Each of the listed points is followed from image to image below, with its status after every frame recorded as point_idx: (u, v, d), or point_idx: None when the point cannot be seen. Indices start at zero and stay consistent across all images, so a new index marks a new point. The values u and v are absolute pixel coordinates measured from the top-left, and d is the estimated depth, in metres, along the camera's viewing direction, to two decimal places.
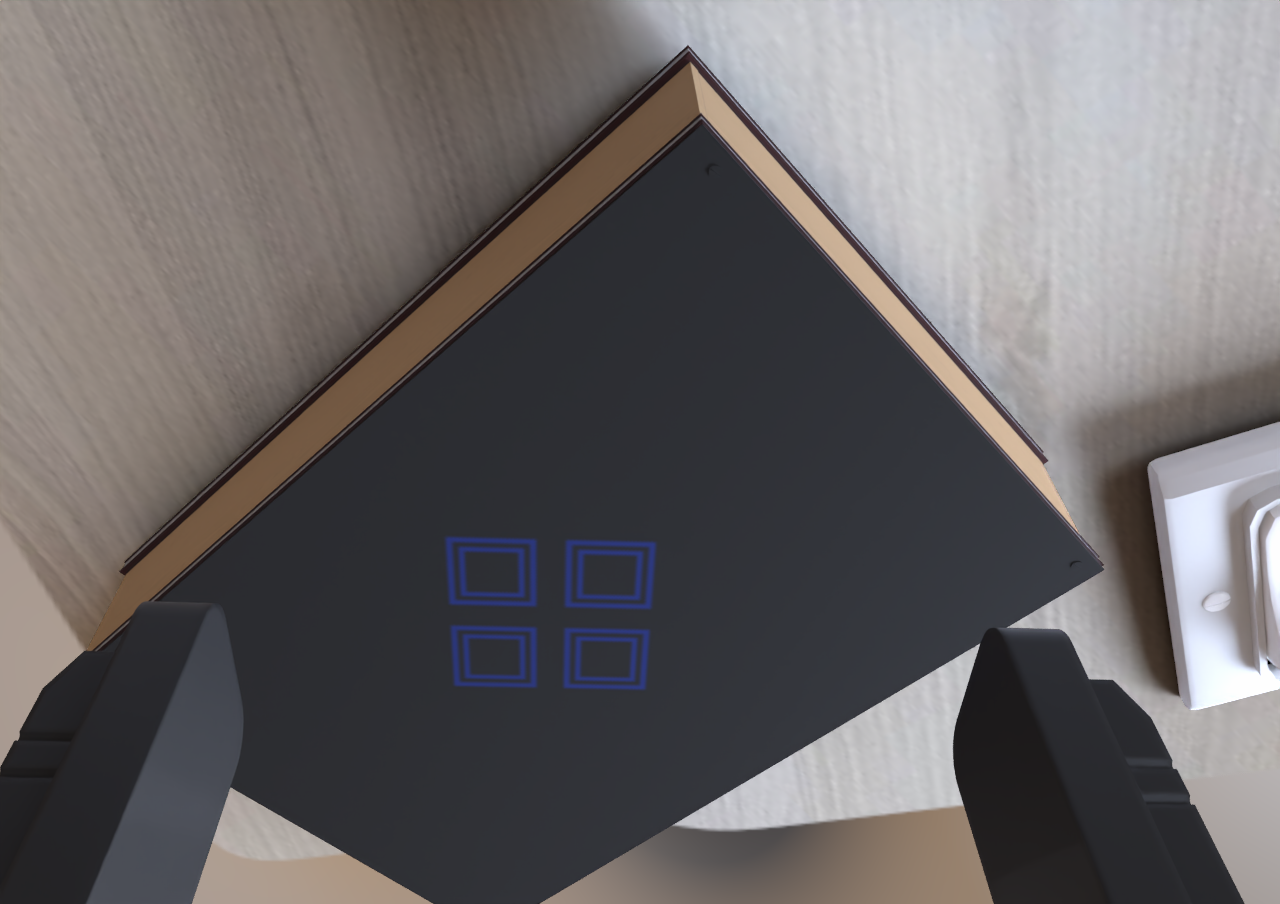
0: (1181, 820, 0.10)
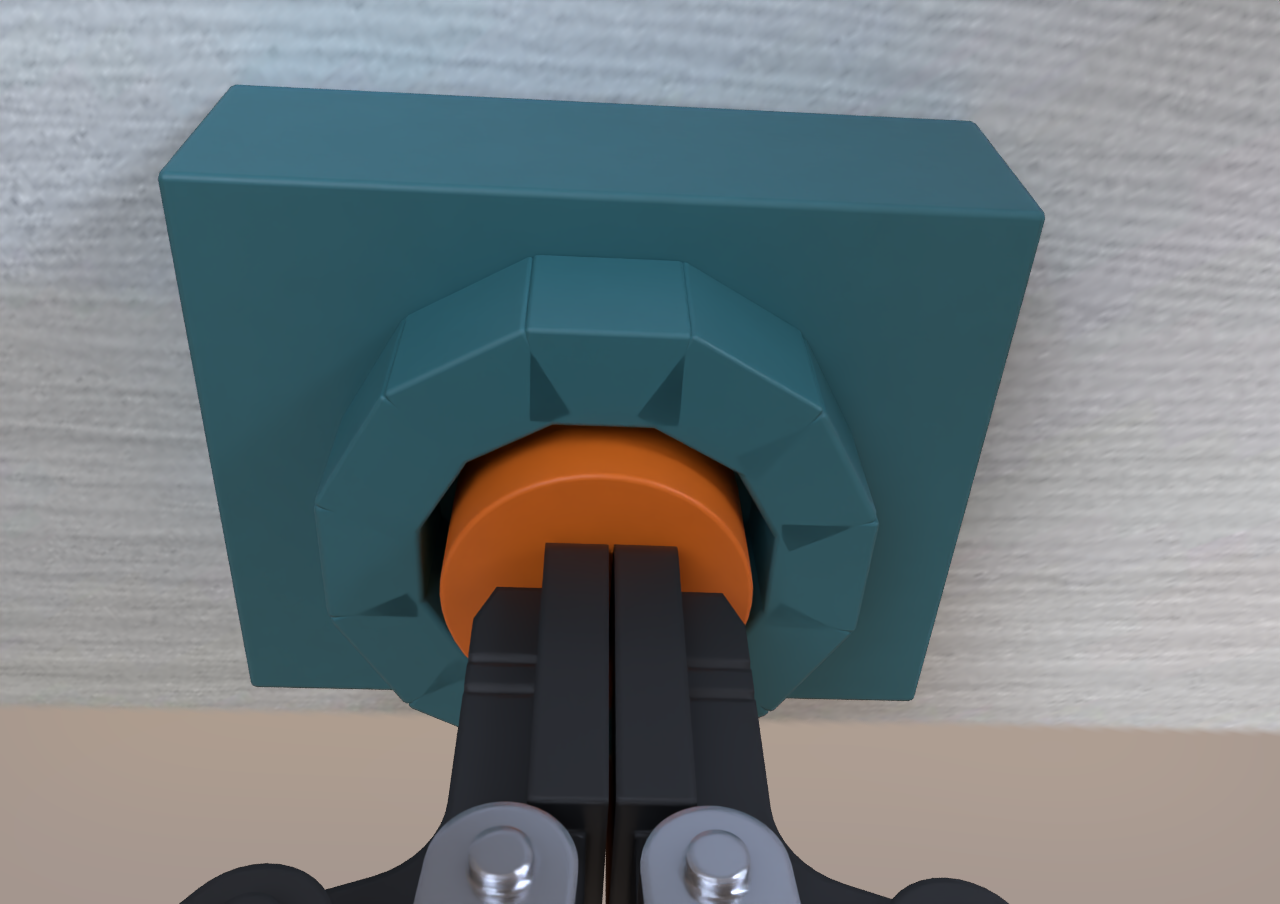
0: (737, 712, 0.11)
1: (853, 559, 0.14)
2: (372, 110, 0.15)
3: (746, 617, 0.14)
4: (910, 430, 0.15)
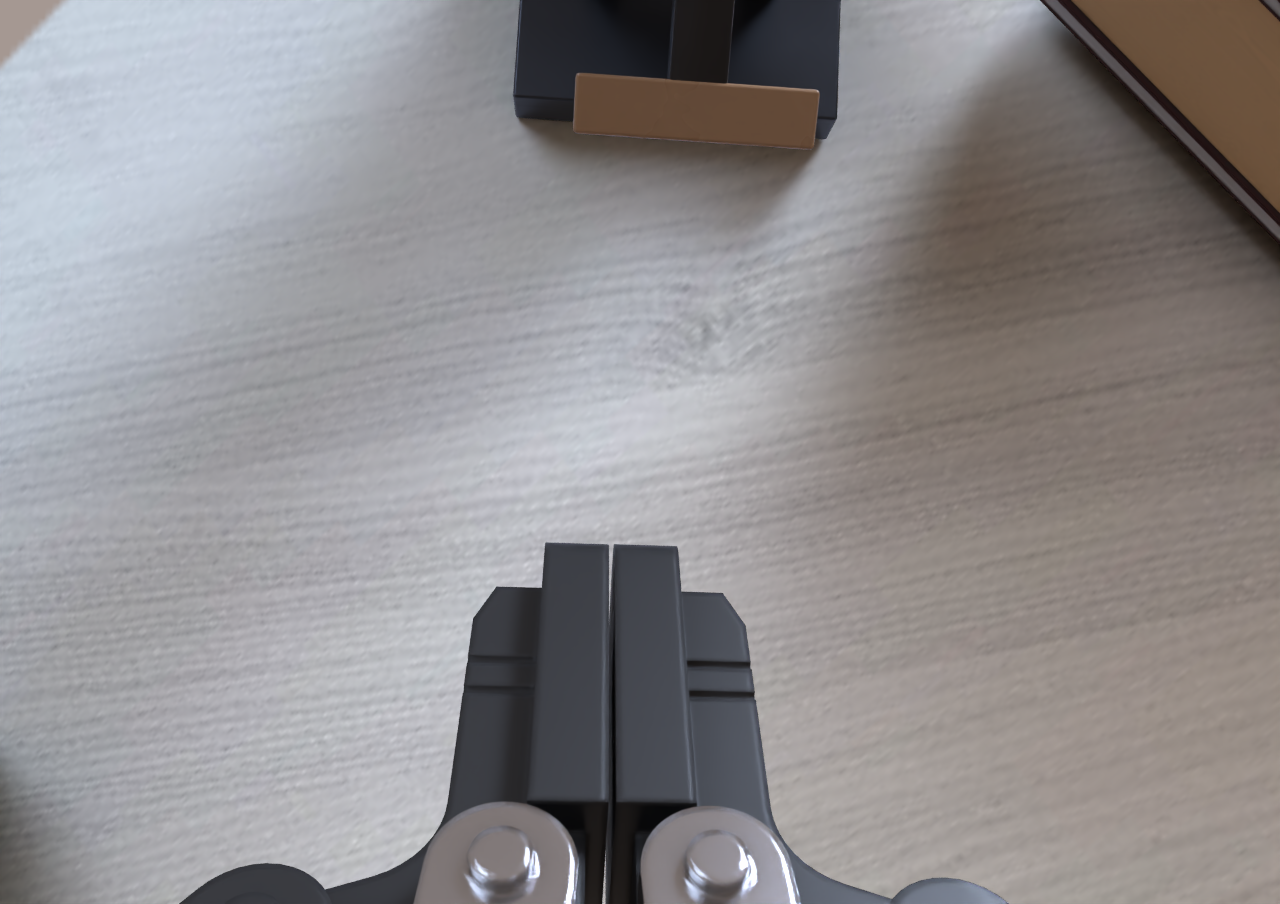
0: (737, 713, 0.11)
1: None
2: None
3: None
4: None
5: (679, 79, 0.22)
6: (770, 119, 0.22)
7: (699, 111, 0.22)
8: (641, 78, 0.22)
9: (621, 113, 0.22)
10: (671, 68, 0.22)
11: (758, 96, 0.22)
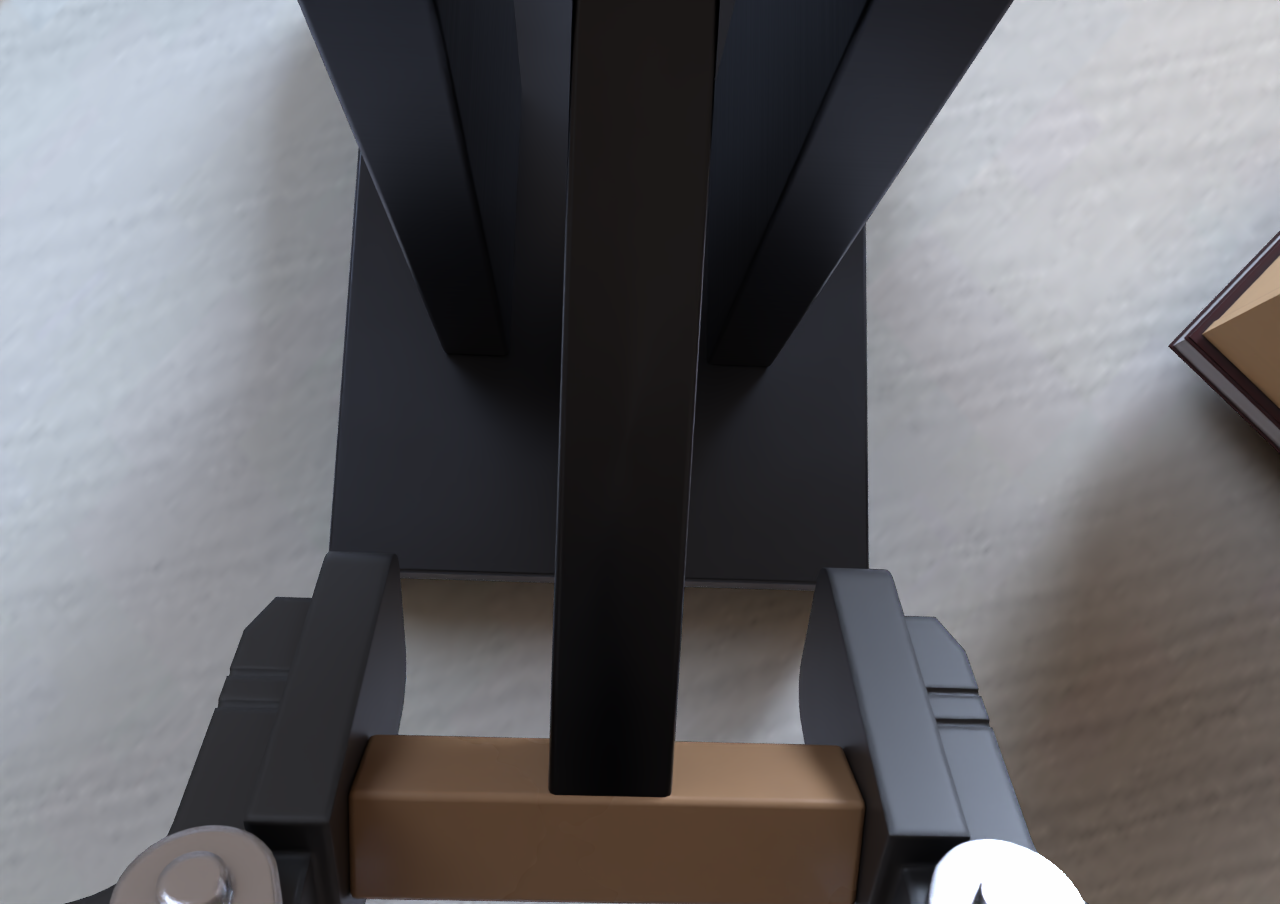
0: (976, 741, 0.11)
1: None
2: None
3: None
4: None
5: (569, 795, 0.10)
6: (764, 859, 0.10)
7: (614, 851, 0.10)
8: (488, 795, 0.10)
9: (449, 862, 0.10)
10: (551, 772, 0.10)
11: (736, 821, 0.10)
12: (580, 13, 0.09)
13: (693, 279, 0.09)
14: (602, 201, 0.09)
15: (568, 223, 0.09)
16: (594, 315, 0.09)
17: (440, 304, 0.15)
